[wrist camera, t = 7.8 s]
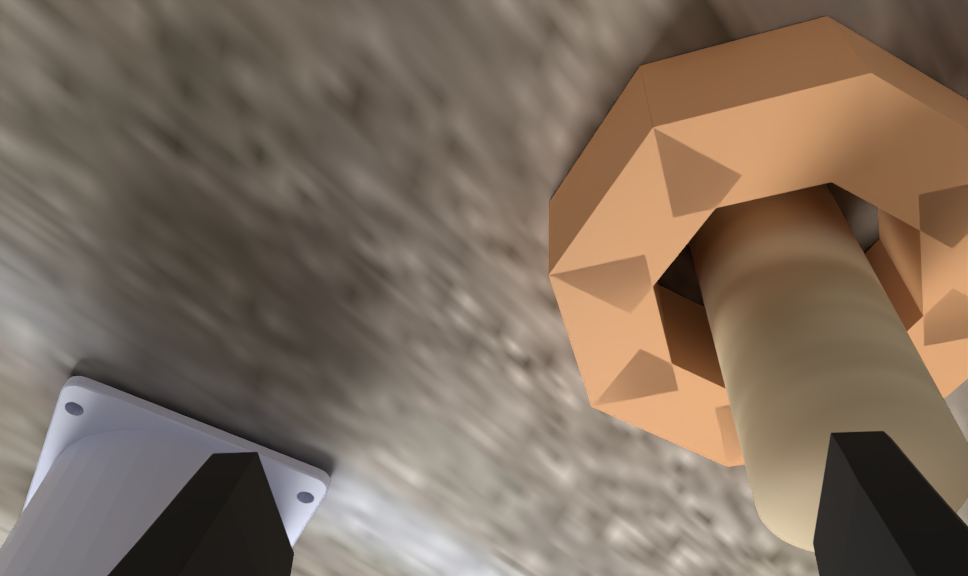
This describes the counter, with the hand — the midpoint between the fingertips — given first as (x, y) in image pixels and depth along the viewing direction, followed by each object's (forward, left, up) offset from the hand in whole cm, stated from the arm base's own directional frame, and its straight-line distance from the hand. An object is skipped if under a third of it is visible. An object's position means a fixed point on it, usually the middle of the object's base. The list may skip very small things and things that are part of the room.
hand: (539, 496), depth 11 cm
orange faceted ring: (+1, -6, -10) cm, 12 cm away
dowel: (+1, -6, -10) cm, 12 cm away
